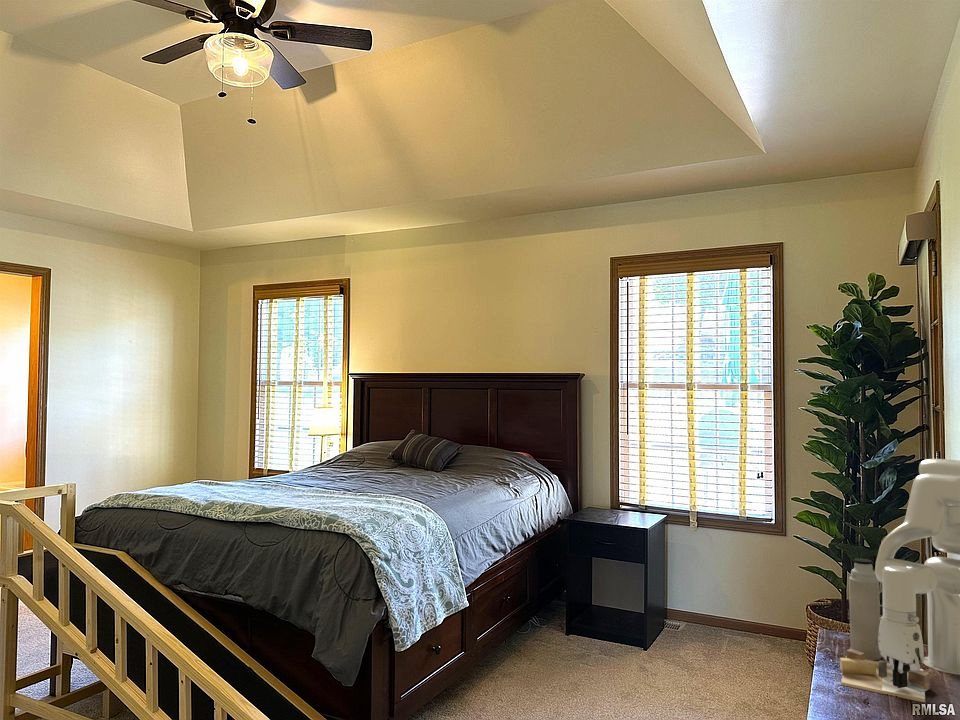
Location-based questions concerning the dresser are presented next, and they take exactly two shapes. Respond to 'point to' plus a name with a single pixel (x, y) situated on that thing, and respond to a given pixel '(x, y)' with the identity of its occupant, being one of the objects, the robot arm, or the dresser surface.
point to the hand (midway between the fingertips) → (900, 686)
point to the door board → (886, 680)
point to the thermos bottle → (864, 609)
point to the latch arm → (857, 666)
